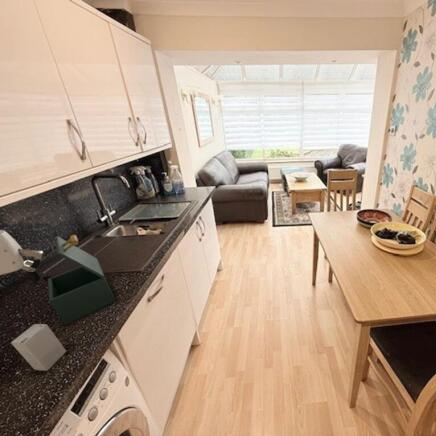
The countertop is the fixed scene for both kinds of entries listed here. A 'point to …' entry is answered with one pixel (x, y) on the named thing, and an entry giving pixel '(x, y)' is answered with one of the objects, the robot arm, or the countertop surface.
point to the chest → (78, 293)
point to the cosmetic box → (39, 347)
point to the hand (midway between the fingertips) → (15, 288)
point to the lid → (77, 255)
